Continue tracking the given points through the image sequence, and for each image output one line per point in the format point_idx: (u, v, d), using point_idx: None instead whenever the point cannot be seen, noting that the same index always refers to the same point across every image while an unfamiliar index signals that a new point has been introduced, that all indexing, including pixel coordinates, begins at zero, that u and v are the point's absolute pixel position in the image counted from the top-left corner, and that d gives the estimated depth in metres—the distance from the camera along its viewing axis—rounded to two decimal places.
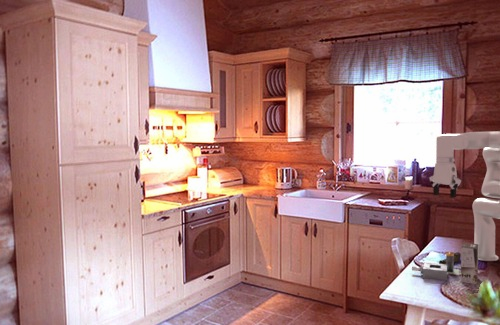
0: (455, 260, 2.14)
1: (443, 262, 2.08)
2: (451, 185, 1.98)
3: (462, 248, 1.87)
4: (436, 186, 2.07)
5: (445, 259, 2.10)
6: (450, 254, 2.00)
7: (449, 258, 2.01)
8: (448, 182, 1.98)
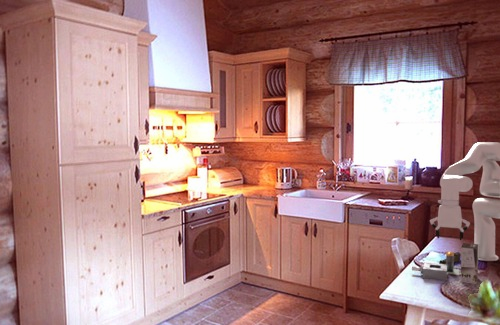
0: (455, 260, 2.14)
1: (443, 262, 2.08)
2: (438, 225, 2.04)
3: (462, 248, 1.87)
4: (460, 230, 1.99)
5: (445, 259, 2.10)
6: (450, 254, 2.00)
7: (449, 258, 2.01)
8: None
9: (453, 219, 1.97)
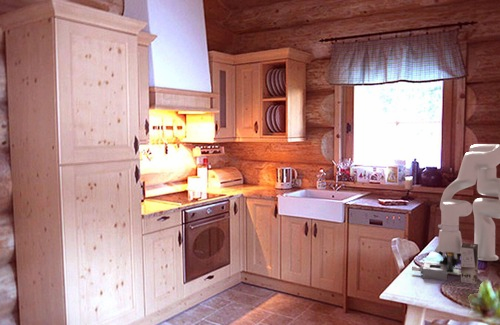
0: None
1: None
2: None
3: (462, 248, 1.87)
4: None
5: None
6: (450, 254, 2.00)
7: (449, 258, 2.01)
8: None
9: (453, 244, 1.98)
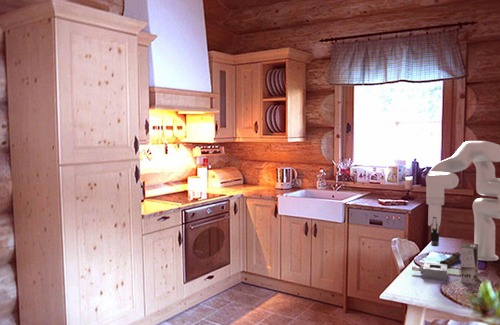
0: (455, 260, 2.14)
1: (444, 262, 2.08)
2: None
3: (462, 248, 1.87)
4: None
5: (446, 259, 2.10)
6: (431, 227, 1.95)
7: (431, 231, 1.95)
8: None
9: None
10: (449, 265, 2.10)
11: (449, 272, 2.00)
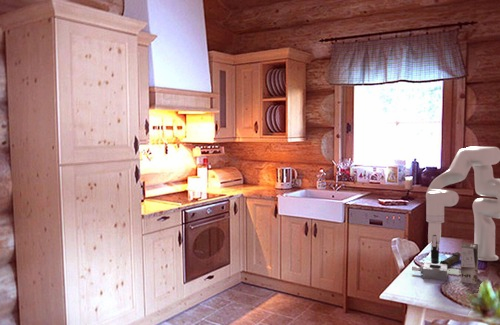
0: (455, 260, 2.14)
1: (444, 262, 2.08)
2: None
3: (462, 248, 1.87)
4: None
5: (446, 259, 2.10)
6: (431, 244, 1.95)
7: (431, 248, 1.96)
8: None
9: None
10: (449, 265, 2.09)
11: (449, 272, 2.00)
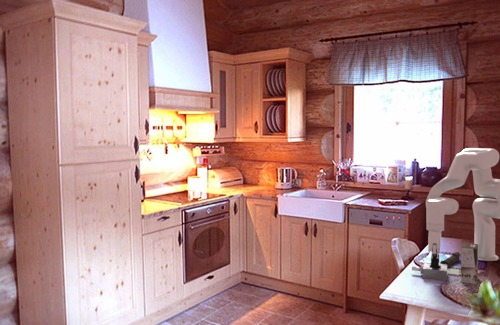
0: (455, 260, 2.14)
1: (444, 262, 2.07)
2: None
3: (462, 248, 1.87)
4: None
5: (446, 259, 2.10)
6: None
7: None
8: None
9: None
10: (449, 265, 2.09)
11: (449, 272, 2.00)
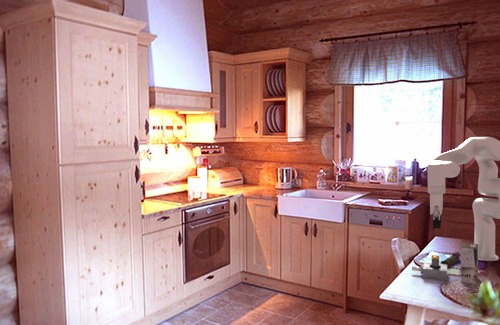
0: (455, 260, 2.14)
1: (445, 262, 2.07)
2: None
3: (462, 248, 1.87)
4: None
5: (446, 259, 2.10)
6: None
7: None
8: None
9: None
10: (450, 264, 2.09)
11: (449, 272, 2.00)
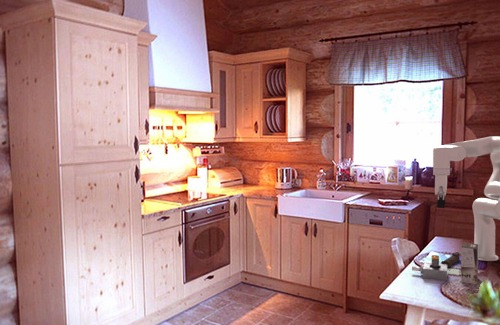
0: (455, 260, 2.14)
1: (445, 262, 2.07)
2: None
3: (462, 248, 1.87)
4: None
5: (447, 259, 2.10)
6: None
7: None
8: None
9: None
10: (450, 265, 2.09)
11: (449, 272, 2.00)
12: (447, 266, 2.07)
